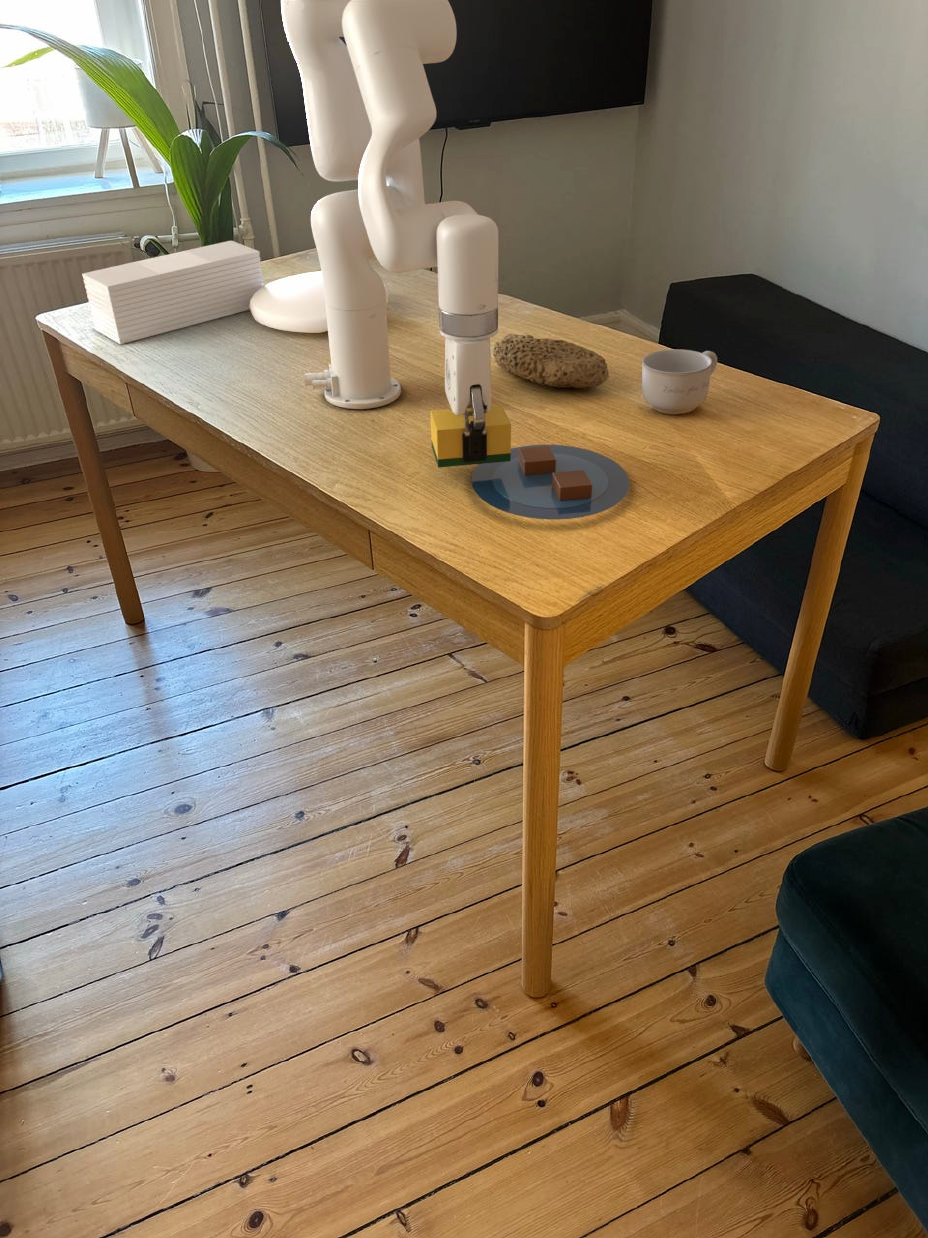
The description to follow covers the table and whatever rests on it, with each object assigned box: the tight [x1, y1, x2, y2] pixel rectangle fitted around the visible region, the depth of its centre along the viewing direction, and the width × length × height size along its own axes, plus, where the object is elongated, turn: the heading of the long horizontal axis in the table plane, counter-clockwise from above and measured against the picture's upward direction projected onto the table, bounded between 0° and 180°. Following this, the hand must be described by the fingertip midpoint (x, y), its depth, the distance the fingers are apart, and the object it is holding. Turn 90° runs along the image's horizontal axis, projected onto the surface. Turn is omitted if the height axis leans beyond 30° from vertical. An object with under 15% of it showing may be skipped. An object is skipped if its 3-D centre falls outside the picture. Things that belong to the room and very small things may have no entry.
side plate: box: [470, 444, 631, 521], centre depth 136 cm, size 22×22×1 cm
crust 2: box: [552, 470, 592, 501], centre depth 132 cm, size 4×4×2 cm
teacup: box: [641, 348, 718, 415], centre depth 156 cm, size 14×11×8 cm
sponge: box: [492, 333, 610, 389], centre depth 165 cm, size 13×8×20 cm
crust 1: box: [518, 446, 556, 475], centre depth 138 cm, size 4×4×2 cm
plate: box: [249, 270, 390, 334], centre depth 194 cm, size 28×6×27 cm
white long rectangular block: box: [81, 240, 265, 345], centre depth 192 cm, size 32×11×11 cm, turn 132°
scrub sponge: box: [429, 404, 512, 468], centre depth 134 cm, size 10×6×6 cm, turn 99°
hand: (470, 447), depth 135 cm, fingers closed on scrub sponge, 6 cm apart
